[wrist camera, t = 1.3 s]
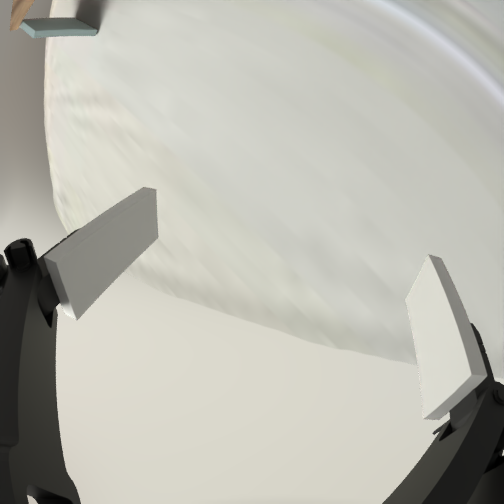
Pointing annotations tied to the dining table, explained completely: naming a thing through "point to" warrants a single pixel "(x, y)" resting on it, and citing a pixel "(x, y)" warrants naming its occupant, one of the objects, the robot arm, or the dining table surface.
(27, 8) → the step stool
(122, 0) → the dining table surface
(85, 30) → the pale teal panel
